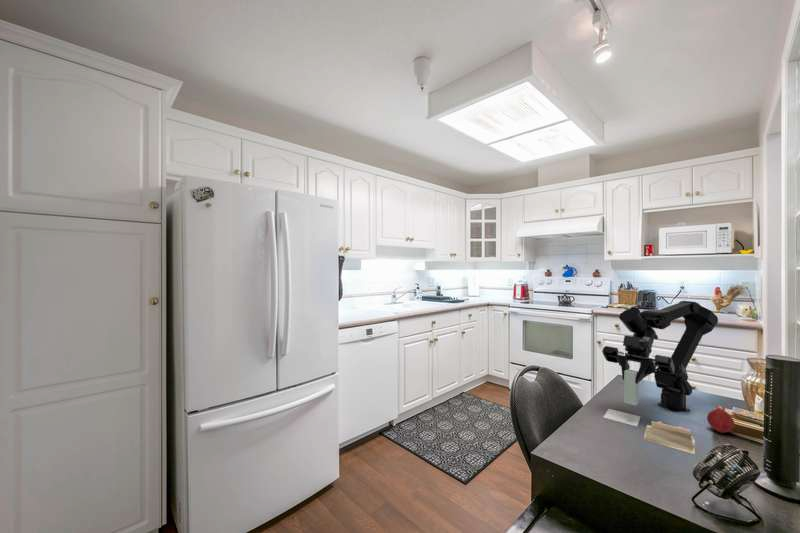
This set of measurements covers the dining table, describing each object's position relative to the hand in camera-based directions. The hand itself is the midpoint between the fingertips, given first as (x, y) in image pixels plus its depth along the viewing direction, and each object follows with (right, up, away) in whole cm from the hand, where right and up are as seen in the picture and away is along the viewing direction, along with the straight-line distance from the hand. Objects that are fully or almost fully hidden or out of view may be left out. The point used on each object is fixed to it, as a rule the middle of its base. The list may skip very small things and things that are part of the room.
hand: (629, 381), depth 105 cm
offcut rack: (+5, -13, -10) cm, 17 cm away
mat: (0, -13, +4) cm, 14 cm away
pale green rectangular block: (+1, -7, +1) cm, 7 cm away
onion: (+24, -14, -5) cm, 28 cm away
